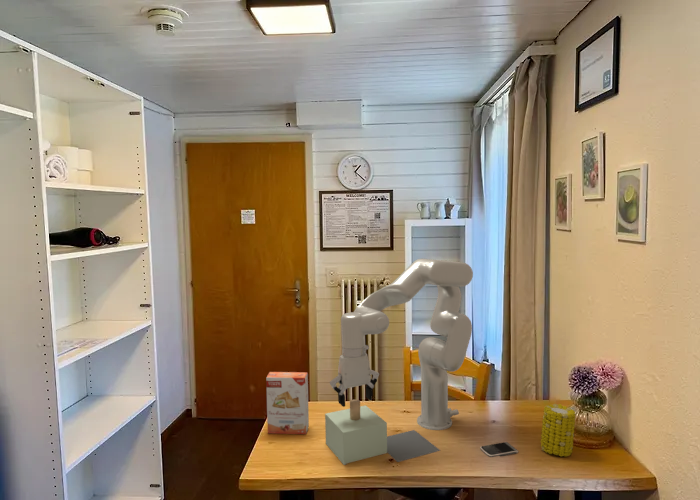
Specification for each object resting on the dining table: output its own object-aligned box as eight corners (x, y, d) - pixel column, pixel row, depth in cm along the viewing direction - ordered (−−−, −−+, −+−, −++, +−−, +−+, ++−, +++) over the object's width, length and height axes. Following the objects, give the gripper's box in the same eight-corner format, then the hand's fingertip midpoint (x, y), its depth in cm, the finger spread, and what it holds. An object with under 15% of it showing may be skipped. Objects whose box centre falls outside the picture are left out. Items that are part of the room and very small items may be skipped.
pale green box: (366, 434, 166) (365, 389, 165) (387, 453, 152) (386, 405, 151) (325, 443, 160) (324, 397, 159) (343, 465, 146) (342, 415, 145)
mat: (414, 431, 168) (414, 429, 168) (440, 451, 153) (440, 450, 153) (373, 440, 161) (373, 439, 161) (397, 463, 147) (397, 462, 147)
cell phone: (478, 450, 154) (478, 446, 154) (508, 445, 158) (508, 441, 157) (489, 460, 149) (489, 455, 148) (519, 454, 152) (519, 450, 152)
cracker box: (267, 434, 167) (265, 376, 165) (271, 426, 173) (269, 371, 171) (306, 435, 166) (305, 377, 164) (309, 427, 172) (307, 371, 170)
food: (535, 452, 155) (559, 448, 158) (561, 461, 144) (587, 457, 147) (530, 404, 157) (554, 401, 160) (556, 409, 146) (581, 406, 149)
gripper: (372, 344, 160) (374, 392, 162) (324, 352, 153) (327, 403, 155) (382, 349, 154) (384, 400, 155) (333, 358, 147) (335, 412, 148)
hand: (355, 402), depth 155 cm, fingers open, 9 cm apart
